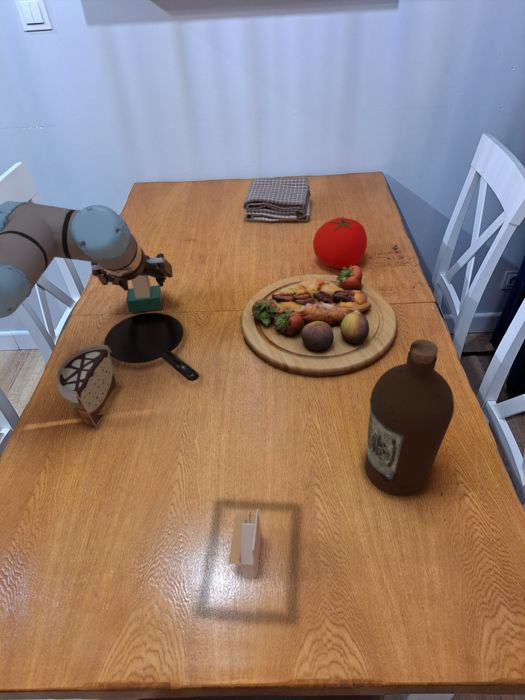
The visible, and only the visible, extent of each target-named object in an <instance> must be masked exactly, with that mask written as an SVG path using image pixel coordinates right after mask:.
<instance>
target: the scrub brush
mask: <svg viewBox="0 0 525 700" xmlns="http://www.w3.org/2000/svg"><path fill="white" fill-rule="evenodd" d="M149 277H150V276H148V275H145V276H141V275H139V276H138V277H136V278H134V279H132V280H130V281H131V285H132V287H131V288H128V291H126V292H127V293H126V300H125V301H126V305H127V309H128V313H129V314H131V313H139V312H147V311H148V312H149V311H157V310H163V294H162V293H163V292H162V289H161V287H160V286H159V284H157V285H151V282H150V278H149Z"/></svg>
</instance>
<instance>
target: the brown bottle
mask: <svg viewBox="0 0 525 700" xmlns="http://www.w3.org/2000/svg"><path fill="white" fill-rule="evenodd" d="M438 353H439V348H438V346H437V344H436V343H434V341H433V342H432V341H431V340H428V339H416V340H414V341H412V343H411V344H410V347H409V351H408V353H407V357H406V362H405V363H402V364H399V365H395V366H393V367H391V368H389V369H388V370H386V371H384V372H383V373H382V374H381V375H380V377H379V378H378V379H377V381H376V382H375V384H374V386H373V388H372V390H371V394H370V397H369V413H368V414H369V415H368V428H367V429H368V430H367V440H366V451H365V461H364V470H365V474H366V476H367V479H369V481H370V483H371V484H372V485H373V486H374V487H375V488H376V489H378V490H380V491H381V492H383V493H385V494H388V495H390V496H395V497H408V496H412V495H414V494H417V493H419V492H420V491H421V490H423V488H425V485H426V483H427V482H428V479H429V477H430V474H431V470H432V469H433V466H434V463H435V460H436V458H437V455H438V453H439V450H440V448H441V445H442V443H443V440H444V438H445V436H446V434H447V431H448V429H449V426H450V425H451V421H452V420H453V416H454V412H455V399H454V395H453V390H452V388H451V386H450V385H449V382H448V381H447V380H446V378H444V377H443V376H442V374H440V373H439V372H438V371H436V370H435V367H436V363H437V360H438V357H437V356H438Z"/></svg>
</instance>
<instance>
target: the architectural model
mask: <svg viewBox="0 0 525 700" xmlns="http://www.w3.org/2000/svg"><path fill="white" fill-rule="evenodd" d="M259 512H260V511H259V508H256V512H255V514H251V513H252V512H251V511H249V514H245V513H243V514H242V513H235V514H234V515H235V516H234V522H233V529H232V536H231V542H230V550H229V557H228V564H229V565H240V571H241V576H242V579H243V578H246V579H256V578H257V577H258V572H259V563H260V561H259V560H260V551H261V542H262V541H261V539H262V532H261V522H260V513H259Z"/></svg>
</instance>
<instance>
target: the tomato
mask: <svg viewBox="0 0 525 700" xmlns="http://www.w3.org/2000/svg"><path fill="white" fill-rule="evenodd" d="M312 246H313V252H314V255H315V256H316V257H317V259H318V260H319V261H321V263H323V264H325V265H326V266H328V267H331V268H333V269H339V270H343V269H342V268H344V266H345V267H346V268H347V269H348V268H349V267H350V265H351V266H357V264H358V263H359V262H360V261H361V260H362V259H363V257H364V254H365V253H366V250H367V248H368V247H367V246H368V237H367V232H366V229H365V227H364V226H363V224H362V223H360V221H358V220H355V219H353V218H348V217H344V216H342V217H336V218H333V219H330V220H328V221H326V222H324V223H322V225H321V226H320V227H319V228H318V229H317V231H316V232H315V234H314V238H313V240H312Z"/></svg>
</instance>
